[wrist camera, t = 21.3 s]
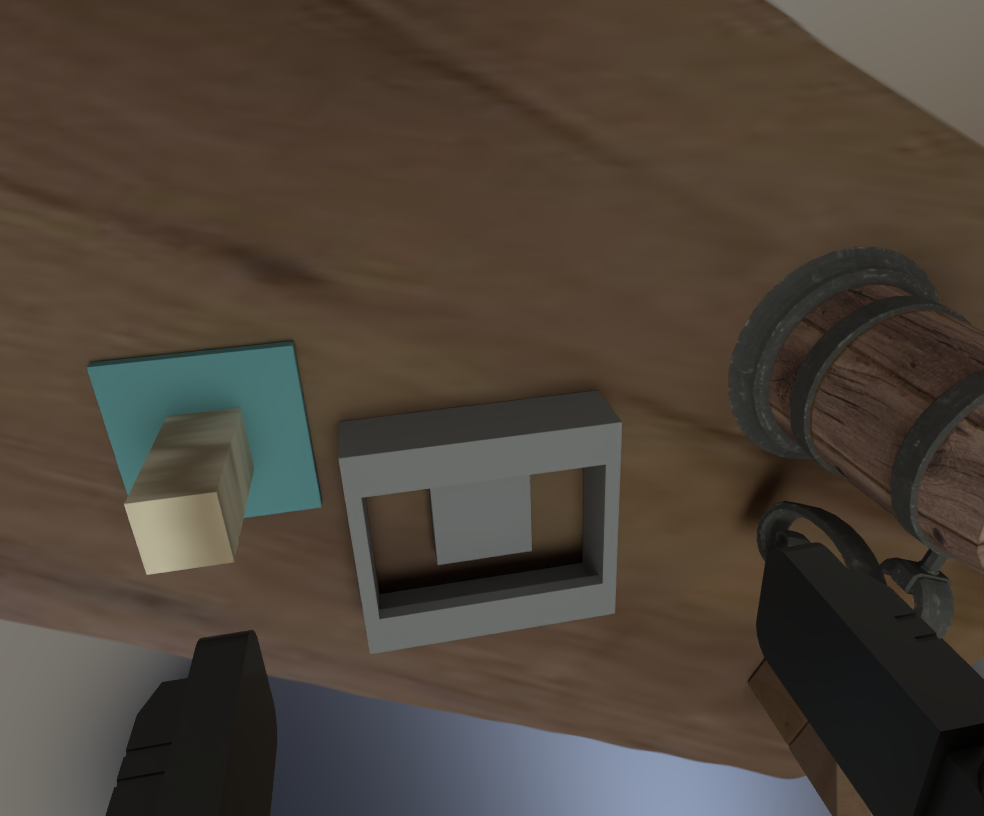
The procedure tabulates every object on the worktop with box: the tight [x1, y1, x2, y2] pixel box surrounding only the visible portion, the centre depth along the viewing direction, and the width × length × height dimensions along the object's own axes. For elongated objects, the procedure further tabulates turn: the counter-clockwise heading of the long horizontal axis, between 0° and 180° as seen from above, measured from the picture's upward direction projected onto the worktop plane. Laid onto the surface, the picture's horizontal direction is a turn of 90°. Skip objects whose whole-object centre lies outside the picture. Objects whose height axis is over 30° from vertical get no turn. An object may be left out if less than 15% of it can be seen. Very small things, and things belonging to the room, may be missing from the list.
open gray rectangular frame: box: [338, 390, 622, 654], centre depth 51 cm, size 18×16×5 cm
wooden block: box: [749, 659, 871, 816], centre depth 59 cm, size 4×11×18 cm, turn 155°
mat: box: [87, 341, 322, 518], centre depth 47 cm, size 12×12×1 cm
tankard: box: [728, 247, 984, 639], centre depth 46 cm, size 24×17×20 cm
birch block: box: [124, 408, 254, 575], centre depth 43 cm, size 4×4×10 cm
